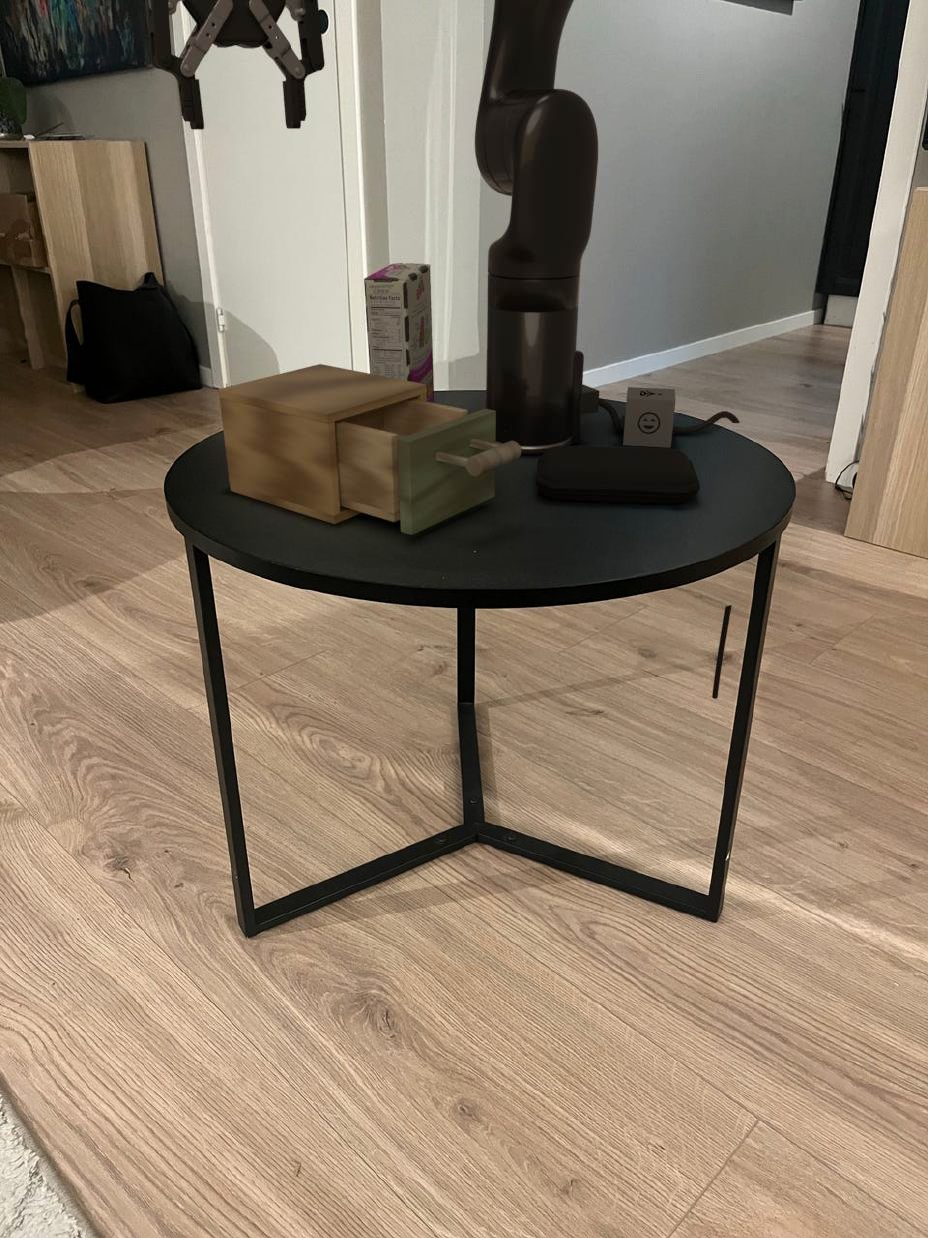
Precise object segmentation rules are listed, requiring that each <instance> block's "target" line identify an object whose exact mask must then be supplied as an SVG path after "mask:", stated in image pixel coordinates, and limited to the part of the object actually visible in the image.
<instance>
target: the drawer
mask: <svg viewBox="0 0 928 1238" xmlns="http://www.w3.org/2000/svg"><path fill="white" fill-rule="evenodd" d="M334 423H335V439H336V454H337V470H338V485H339V501H340V506H342V507H346V508H349V509H352V510H356V511H359V512H362V513H361V514H366V515H369V516H372V517H376V518H378V519H379V518H380V519H382V520H386V521H388V522H391V523H395V522H396V523H397V522H398V521H400V532H401V533H403V534H407V535H410V536H413V535H415V534H418V533H419V532H422V531H424V530H426V529H428V528H431V527H432V526H435V525H436V524H440V523H442V522H443V521H446V520H448V519H450V518H452V517H454V516H456V515H458V514H461V513H463V512H465V511H467V510H469V509H471V508H473V507H475V506H478V505H480V504H482V503H484V502H486V501H488V500H490V499H493V498H494V497H495V495H496V494H495V493H496V492H495V491H496V469H498V468H501V467H503V466H505V465H507V464H510V463H512V462H515V461H517V460H519V459H520V458H521V456H522V454H521V447H520V445H519V444H518V443H517V442H515V441H509V442H506V443H504V444H501V445H500V444H495V436H496V411H494V410H489V409H486V408H483V409H480V410H477V411H474V412H471V413H469V410H468V409H465V408H461V407H455V406H450V405H445V404H440V403H436V402H434V403H431V402H426V401H421V400H417V399H412V398H409V399H406V400H402V401H399V402H396V403H393V404H390V405H386V406H383V407H380V408H377V409H373V410H370V411H367V412H364V413H361V414H357V415H354V416H351V417H348V418H344V419H341V420H338V421H335V422H334Z"/></svg>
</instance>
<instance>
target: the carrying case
mask: <svg viewBox="0 0 928 1238" xmlns="http://www.w3.org/2000/svg"><path fill="white" fill-rule="evenodd" d="M535 485H536V487H537V488H538V489H539V490H540V491H541V492H542V494H543V495H544V496H545V497H546V498H548V499H552V500H556V501H557V500H558V501H579V502H580V501H581V502H603V503H604V502H605V503H629V504H631V503H632V504H664V505H666V504H670V505H675V504H683V503H684V504H685V503H687V502H689V501H690V500H691V499H692V498H693V497H694V496H696V495H697V494H698V493H699V491H700V490H701V484H700V481H699V478H698V474H697V472H696V469H695V466H694V463H693V461H692V460H691V459H689V457H688V456H687V454H686V453H685V452H683V450H679V449H674V448H673V449H672V448H656V447H628V446H627V447H626V446H625V447H624V446H623V447H622V446H590V445H589V446H587V445H583V446H582V445H570V446H554V447H551V448H549V449H547V450H546V451H545V453H542V454H540V456H539V458H538V460H537V466H536V474H535Z"/></svg>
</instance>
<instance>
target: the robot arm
mask: <svg viewBox="0 0 928 1238" xmlns="http://www.w3.org/2000/svg"><path fill="white" fill-rule="evenodd" d="M574 1H575V0H494V2H493V14H492V23H491V31H490V38H489V44H488V51H487V57H486V61H485V68H484V73H483V80H482V85H481V92H480V96H479V102H478V107H477V114H476V119H475V129H474V130H475V131H474V155H475V160H476V166H477V168H478V170H479V173H480V176H481V177H482V179H483V180H484V181H483V182H485V184H486V185H487V186H488V187H489V188H490V189H491V190H492V191H494V192H496V193H497V194H500V195H503V196H507V197H511V203H510V215H509V222H508V225H507V227H506V229H505V231H504V233H503V234H501V236H500V237H498V238H496V239H495V240H493V241H492V242H491V243H490V244H489V246H488V249H487V264H486V265H487V268H486V270H487V271H486V272H487V273H486V274H487V275H486V304H487V305H486V360H485V361H486V363H485V364H486V365H485V366H486V370H485V371H486V372H485V375H486V377H485V378H486V379H485V380H486V381H485V409H489V410H494V411H496V436H495V444H500V445H501V444H504V443H506V442H509V441H515V442H517V443H518V444H519V445H520V447H521V455H523V454H524V455H542V454H544V453H545V451H546V450H547V449H549V448H551V447H554V446H572V445H574V444H579V443H580V435H581V434H580V432H581V415H587V414H593V413H598V412H599V406H600V407H602V408H603V409H604V410H605V411H607V413H608V414H609V416H610V418H611V422H612V426H613V427H614V430H615V431H616V432H617V433H618V434H624V426H625V415H623V416H621V417H620V418H619V415H618V412H617V411H616V409H615V408H614V406H613V405H611V404H610V403H609V402H607V401H606V400H605V399H602V398H600V393H601V392H600V390H599V389H596V388H594V387H591V386H588V385H587V384H584V382H583V381H584V380H583V379H584V363H585V355H584V353H583V352H582V351H581V350H578V349H577V345H578V343H577V342H578V325H579V323H578V321H579V303H580V302H579V301H580V285H581V284H580V282H581V267H582V266H581V265H582V260H583V257H584V254H585V252H586V249H587V246H588V244H589V241H590V237H591V232H592V226H593V217H594V216H593V215H594V207H595V199H596V198H595V196H596V187H597V177H598V167H599V136H598V135H599V133H598V128H597V123H596V120H595V117H594V114H593V112H592V109H591V107H590V106H589V104H588V102H586V100H585V99H584V98H583V97H581V95H579V94H578V93H576V92H574V91H571V90H568V89H565V88H555V83H556V82H555V81H556V74H557V73H556V71H557V64H558V55H559V49H560V44H561V40H562V35H563V31H564V28H565V26H566V25H565V24H566V21H567V19H568V16H569V14H570V11H571V8H572V6H573V4H574ZM179 2H181V3H182V6H183V7H184V8H185V10H186V11H187V12H188V14H189V16H191V18H192V19H193V21H194V22H195V25H194V27H193V29H192V30H191V33H190V35H189V37H188V38H187V40H186V41H185V45H184V47H183V49H182V51H181V53H180V55H179V57H178V56H177V55H174V54H173V52H172V51H173V50H172V38H171V25H170V23H171V22H170V16H172V15H174V14H175V13H176V12H177V6H178V3H179ZM145 3H146V14H147V25H148V26H147V27H148V28H147V29H148V39H149V52H150V62H151V65H152V66H153V67H154V68H155V69H157V70H160V71H161V70H162V71H164V72H167V73H169V74H170V75H172V76H173V77H175V78H174V79H175V80H176V82H177V88H178V96H179V105H180V114H181V117H182V119H183V121H184V122H185V123H186V122H188V123H189V127H190V129H191V130H193V131H194V130H195V131H196V130H197V131H198V130H200V131H201V130H202V131H203V130H204V129H205V121H204V113H203V104H202V95H201V87H200V86H201V85H200V79H199V78H196V72H197V70H198V68H199V66H200V64H201V63H202V61H203V59H204V58H205V56H206V55H207V54H208V52H209V51H210V49H211V48H212V46H216V48H217V49H218V48H221V49H227V48H231V47H234V46H236V47H239V48H243V49H252V50H253V49H257V48H262V50H263V51H264V52H265V53H266V55H267V56H268V57H269V58H270V59H271V60H272V61H273V62H274V63H275V65H276V66H277V68H278V69H279V70H280V72H281V74H282V75H283V76H284V78H285V80H282V92H283V93H282V95H283V103H284V104H283V105H284V119H285V127H286V128H287V129H289V130H290V129H291V130H299V129H301V127H302V122H306V117H307V103H306V87H305V82H306V79H307V77H309V76H310V75H312V74H315V73H317V72H321V71H322V70H323V69H324V68H325V66H326V65H325V64H326V63H325V53H324V45H323V35H322V27H321V26H322V25H321V16H320V9H319V0H145ZM285 8H286V9H287V10H288V11H289V16H290V18H291V19H292V20H293V21H294V22H296V23H297V29H298V30H297V31H298V39H299V48H300V57H301V58H299V57H298V56H297V55H296V53H295V51H294V50H293V48H292V46H291V42H290V41H289V39H288V38H287V37H286V35H285V33H284V32H283V30H282V29H281V28H280V27H279V25H278V21H279V19H280V18H281V16H282V14H283V12H284V10H285ZM721 419H727V420H728V421H730V422H731V423H732V424H740V423H741V422H740V420H739V418H738V417H737V416H736V415H735V414H733V413H732V412H730V411H727V410H722V411H719V412H717V413H715V414H714V415H712V416H710V417H709V418H708V419H706V420H704V421H705V422H704V421H702V422H701V423H699V424H696V425H690V426H677V425H673V430H672V433H674V434H692V433H698V432H701V431H704V430H705V429H707V428H709V427H711V426H712V425H714V424H715V423H717V422H718V421H719V420H721ZM732 607H733V606H732V604H730V605H725V607H724V613H723V618H722V624H721V631H720V638H719V643H718V651H717V657H716V662H715V671H714V678H713V686H712V695H711V698H712V699H714V700H717V699H718V697H719V690H720V689H719V688H720V683H721V682H720V681H721V674H722V667H723V660H724V654H725V648H726V642H727V635H728V629H729V623H730V619H731V618H730V617H731V611H732Z"/></svg>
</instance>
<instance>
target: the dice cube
mask: <svg viewBox="0 0 928 1238" xmlns="http://www.w3.org/2000/svg"><path fill="white" fill-rule="evenodd" d="M625 401H626V402H625V403H626V404H625V414H624V416H625V426H624V433H623V440H622V446H628V447H629V446H632V447H647V448H666V449H672V439H673V432H672V430H673V426H674V421H675V409H676V389H675V388H661V387H660V388H657V387H637V386H635V387H634V386H627V392H626V400H625Z"/></svg>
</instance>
